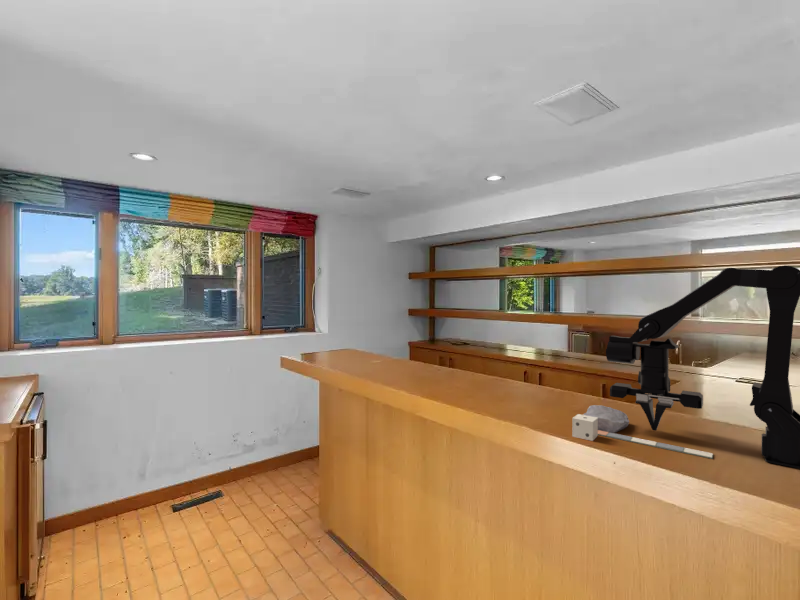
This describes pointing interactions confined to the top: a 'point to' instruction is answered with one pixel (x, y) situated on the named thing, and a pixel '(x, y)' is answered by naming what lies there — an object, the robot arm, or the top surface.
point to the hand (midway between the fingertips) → (654, 430)
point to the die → (585, 427)
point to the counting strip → (657, 444)
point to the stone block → (608, 418)
